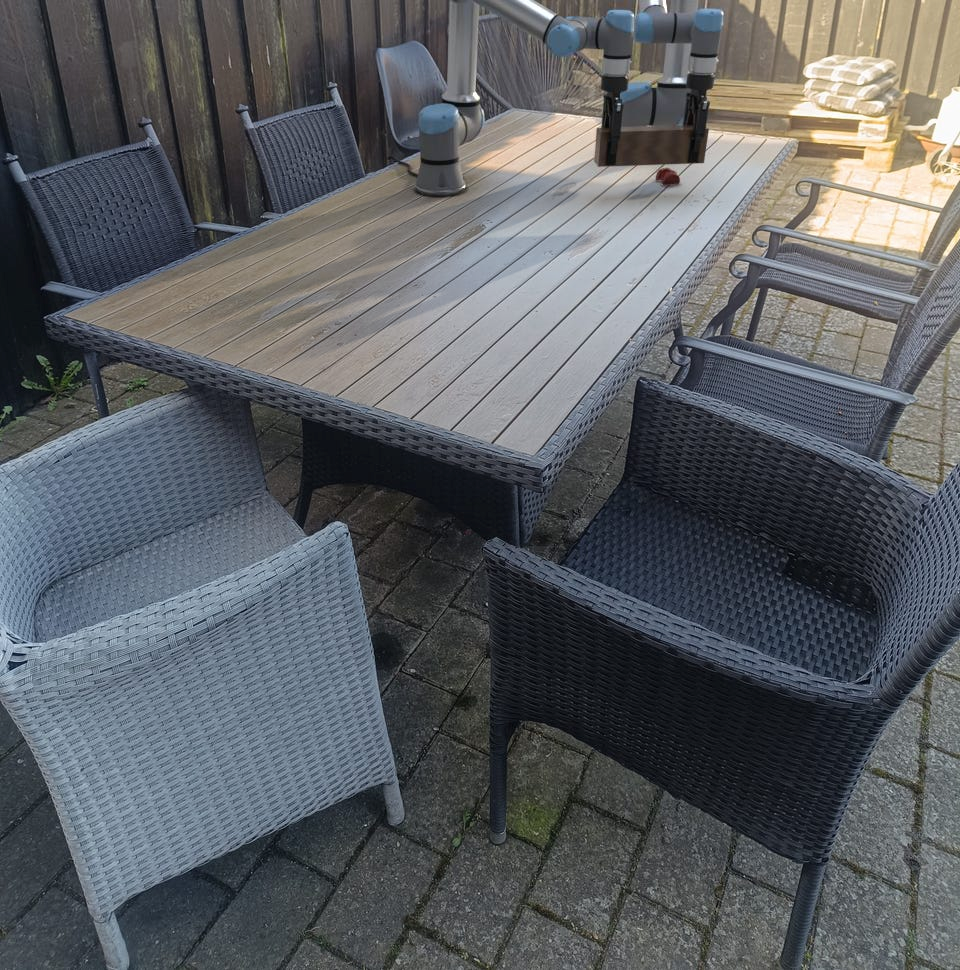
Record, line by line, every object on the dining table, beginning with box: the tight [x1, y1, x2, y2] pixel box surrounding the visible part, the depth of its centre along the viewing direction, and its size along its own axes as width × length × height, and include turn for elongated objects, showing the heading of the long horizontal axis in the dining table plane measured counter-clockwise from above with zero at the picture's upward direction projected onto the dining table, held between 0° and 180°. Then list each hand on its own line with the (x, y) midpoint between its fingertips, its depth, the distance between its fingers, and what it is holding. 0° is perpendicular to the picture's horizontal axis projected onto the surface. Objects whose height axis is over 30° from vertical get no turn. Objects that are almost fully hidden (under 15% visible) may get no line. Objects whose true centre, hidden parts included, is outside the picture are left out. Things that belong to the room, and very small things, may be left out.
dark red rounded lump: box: [655, 167, 681, 186], centre depth 263 cm, size 6×4×8 cm
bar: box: [593, 125, 710, 168], centre depth 244 cm, size 32×6×10 cm, turn 96°
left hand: (608, 161), depth 245 cm, fingers closed on bar, 5 cm apart
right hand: (689, 159), depth 248 cm, fingers closed on bar, 5 cm apart
